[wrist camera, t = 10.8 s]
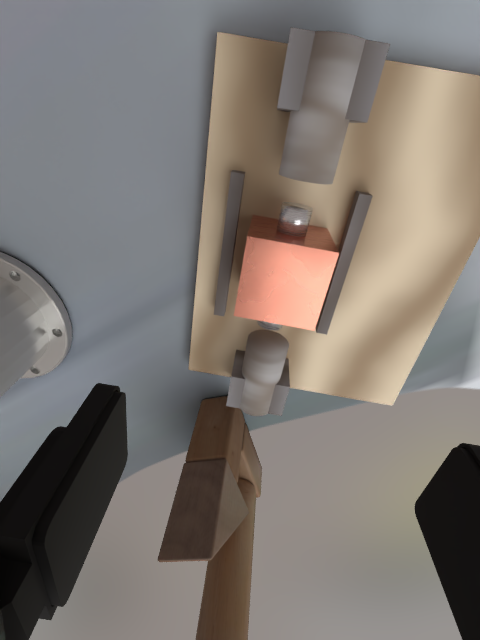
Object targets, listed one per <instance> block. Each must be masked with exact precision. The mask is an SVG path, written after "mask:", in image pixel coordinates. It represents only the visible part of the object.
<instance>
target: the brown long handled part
mask: <svg viewBox="0 0 480 640" xmlns="http://www.w3.org/2000/svg"><path fill="white" fill-rule="evenodd" d="M227 398H228V396H223V397H216V398H209V399H204V400H202V402H201V405H200V409H199V413H198V416H197V420H196V423H195V427H194V431H193V434H192V438H191V442H190V445H189V449H188V452H187V456H186V463H185V464H184V466H183V469H182V473H181V476H180V480H179V484H178V487H177V491H176V495H175V498H174V502H173V505H172V509H171V513H170V516H169V520H168V524H167V527H166V531H165V534H164V538H163V542H162V545H161V549H160V553H159V556H158V561H159V562H177V561H208V565H207V571H206V578H205V584H204V590H203V597H202V603H201V609H200V616H199V621H198V628H197V634H196V640H248V624H249V607H250V590H251V573H252V556H253V539H254V521H255V504H256V497H260V495H261V476H262V467H261V464H260V461H259V458H258V456H257V453H256V450H255V447H254V445H253V442H252V439H251V436H250V433H249V431H248V428H247V425H246V423H245V419H244V417H243V414H242V411H241V409H240V408H234V407H229V406H226V404H227Z"/></svg>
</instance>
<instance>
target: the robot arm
mask: <svg viewBox="0 0 480 640" xmlns="http://www.w3.org/2000/svg"><path fill="white" fill-rule="evenodd" d="M71 342H72V326H71V322H70V319H69V315H68V313H67V311H66V309H65V307H64V305H63V303H62V301H61V299H60V298H59V297H58V295H57V294H56V292H55V291H54V290H53V288H52V287H51V286H50V285H49V284H48V283H47V282H46V281H45V280H44V279H43V278H42V277H41V276H40V275H39V274H37V273H36V272H35V271H34V270H32V269H31V268H30V267H29V266H27V265H25V264H24V263H22V262H20V261H19V260H17V259H15V258H13V257H11V256H9V255H6V254H4V253H2V252H0V398H1V397H2V396H3V395H4V394H5V393H6V392H7V391H8V390H9V389H10V388H11V387H12V386H13V385H14V384H15V383H16V382H17V381H18V380H19V379H20V378H34V377H38V376H42V375H45V374H47V373H49V372H51V371H52V370H54V369H55V368H56V367H57V366H58V365H59V364H60V363H61V362H62V361H63V360H64V358H65V357H66V356H67V354H68V352H69V350H70V347H71ZM127 455H128V452H127V422H126V395H125V393H123V392H120V388H119V386H113V385H107V384H101V383H98V384H96V385H95V386H94V388H93V389H92V391H91V392H90V394H89V395H88V396H87V398H86V399H85V401H84V402H83V404H82V405H81V407H80V408H79V410H78V411H77V413H76V414H75V416H74V417H73V419H72V420H71V422H70V423H69V425H68V426H67V427H57V428H55V429H54V430H53V431H52V432H51V433H50V434H49V435H48V437H47V438H46V440H45V441H44V442H43V444H42V445H41V447H40V448H39V449H38V451H37V452H36V454H35V455H34V456H33V458H32V459H31V460H30V462H29V463H28V465H27V466H26V467H25V469H24V470H23V472H22V473H21V474H20V476H19V477H18V479H17V480H16V481H15V483H14V484H13V486H12V487H11V488H10V490H9V491H8V492H7V494H6V495H5V497H4V498H3V499H2V501H1V502H0V640H29V638H30V636H31V634H32V631H33V629H34V627H35V625H36V623H37V621H38V619H39V618H40V619H46V620H51V619H52V617H53V615H54V612H55V610H56V608H57V606H61V607H63V606H64V605H65V604H66V602H67V600H68V598H69V596H70V594H71V592H72V589H73V587H74V585H75V583H76V580H77V578H78V575H79V573H80V571H81V568H82V566H83V564H84V561H85V559H86V557H87V554H88V552H89V550H90V547H91V545H92V543H93V540H94V538H95V536H96V533H97V531H98V529H99V526H100V524H101V522H102V519H103V517H104V515H105V512H106V510H107V508H108V505H109V503H110V501H111V498H112V496H113V493H114V491H115V489H116V486H117V484H118V482H119V480H120V477H121V475H122V473H123V470H124V468H125V465H126V461H127ZM415 514H416V517H417V519H418V522H419V525H420V528H421V530H422V533H423V536H424V538H425V541H426V544H427V546H428V549H429V552H430V554H431V557H432V560H433V562H434V565H435V568H436V570H437V573H438V576H439V578H440V581H441V584H442V586H443V589H444V591H445V594H446V597H447V600H448V602H449V605H450V608H451V610H452V613H453V616H454V618H455V621H456V623H457V626H458V629H459V632H460V634H461V637H462V639H463V640H480V446H478V445H472V444H466V443H462V444H460V445H459V446H458V447H455V448H453V449H452V450H451V452H450V453H449V455H448V456H447V458H446V459H445V461H444V462H443V463H442V465H441V466H440V468H439V469H438V471H437V472H436V474H435V475H434V477H433V478H432V479H431V481H430V482H429V484H428V485H427V487H426V488H425V490H424V491H423V492H422V494H421V495H420V497H419V498H418V500H417V501H416V503H415Z"/></svg>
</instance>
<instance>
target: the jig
mask: <svg viewBox="0 0 480 640" xmlns="http://www.w3.org/2000/svg"><path fill="white" fill-rule="evenodd" d="M389 47H390V44H388V43H382V42H376V41H370V40H365V39H363V38H361V37H358V36H354V35H351V34H346V33H340V32H331V31H310V30H304V29H298V28H292V27H291V29H290V35H289V41H288V44H287V43H281V42H275V41H269V40H263V39H257V38H251V37H245V36H239V35H233V34H227V33H221V32H218V33H217V44H216V56H215V68H214V79H213V91H212V103H211V114H210V126H209V137H208V149H207V161H206V172H205V184H204V196H203V207H202V219H201V231H200V242H199V254H198V265H197V277H196V289H195V300H194V312H193V324H192V335H191V347H190V358H189V370H193V371H199V372H205V373H210V374H216V375H222V376H227V377H231V380H230V386H229V392H228V398H227V404H226V406H229V407H234V408H240V409H241V410H242V411H243V412H245V413H247V414H249V415H253V416H263V415H266V414H274V415H279V416H282V413H283V409H284V406H285V402H286V399H287V396H288V392H289V389H290V388H295V389H301V390H306V391H312V392H318V393H323V394H329V395H335V396H340V397H346V398H352V399H357V400H363V401H369V402H375V403H380V404H386V405H392V406H393V404H394V402H395V400H396V398H397V396H398V394H399V392H400V390H401V388H402V386H403V384H404V382H405V380H406V379H407V377H408V375H409V373H410V371H411V369H412V367H413V365H414V363H415V361H416V359H417V357H418V355H419V353H420V351H421V350H422V348H423V346H424V344H425V342H426V340H427V338H428V336H429V334H430V332H431V330H432V328H433V326H434V324H435V322H436V321H437V319H438V317H439V315H440V313H441V311H442V309H443V307H444V305H445V303H446V301H447V299H448V297H449V295H450V293H451V291H452V290H453V288H454V286H455V284H456V282H457V280H458V278H459V276H460V274H461V272H462V270H463V268H464V266H465V264H466V262H467V261H468V259H469V257H470V255H471V253H472V251H473V249H474V247H475V245H476V243H477V241H478V239H479V237H480V76H478V75H472V74H466V73H460V72H454V71H448V70H442V69H436V68H431V67H425V66H419V65H413V64H407V63H401V62H395V61H389V60H386V57H387V53H388V50H389ZM283 202H294V203H299V204H303V205H307V206H309V207H311V208H313V211H312V215H311V219H310V223H309V225H313V226H318V227H324V228H328V231H329V233H330V235H331V237H332V239H333V241H334V243H335V245H336V247H337V249H338V251H339V255H338V258H337V262H336V265H335V268H334V271H333V274H332V277H331V280H330V284H329V287H328V290H327V293H326V296H325V299H324V302H323V305H322V309H321V312H320V315H319V318H318V321H317V324H316V327H315V331H313V330H307V329H302V328H297V327H291V326H286V325H283V327H282V328H281V329H280V330H267V329H264V328H262V327H261V326H259V324H258V323H257V320H253V319H248V318H242V317H237V316H234V311H235V305H236V299H237V293H238V287H239V281H240V275H241V270H242V264H243V258H244V252H245V246H246V240H247V235H248V231H249V227H250V224H251V220H252V216H253V215H258V216H263V217H269V218H274V219H279V216H280V211H281V206H282V203H283Z"/></svg>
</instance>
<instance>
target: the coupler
mask: <svg viewBox="0 0 480 640" xmlns="http://www.w3.org/2000/svg"><path fill="white" fill-rule="evenodd" d="M312 211H313V208H311V207H309V206H307V205H303V204H299V203H294V202H283V203H282V206H281V211H280V216H279V219H274V218H269V217H263V216H258V215H253V216H252V220H251V224H250V227H249V231H248V235H247V240H246V246H245V252H244V258H243V264H242V270H241V275H240V281H239V287H238V293H237V299H236V305H235V311H234V316H237V317H242V318H248V319H253V320H257V323H258V324H259V326H261V327H262V328H264V329H267V330H280V329H281V328H282V327H283V325H286V326H291V327H297V328H302V329H307V330H313V331H315V327H316V324H317V321H318V318H319V315H320V312H321V309H322V305H323V302H324V299H325V296H326V293H327V290H328V287H329V284H330V280H331V277H332V274H333V271H334V268H335V265H336V262H337V258H338V255H339V251H338V249H337V247H336V245H335V243H334V241H333V239H332V237H331V235H330V233H329V231H328V228H324V227H318V226H313V225H309V223H310V219H311V215H312Z"/></svg>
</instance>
